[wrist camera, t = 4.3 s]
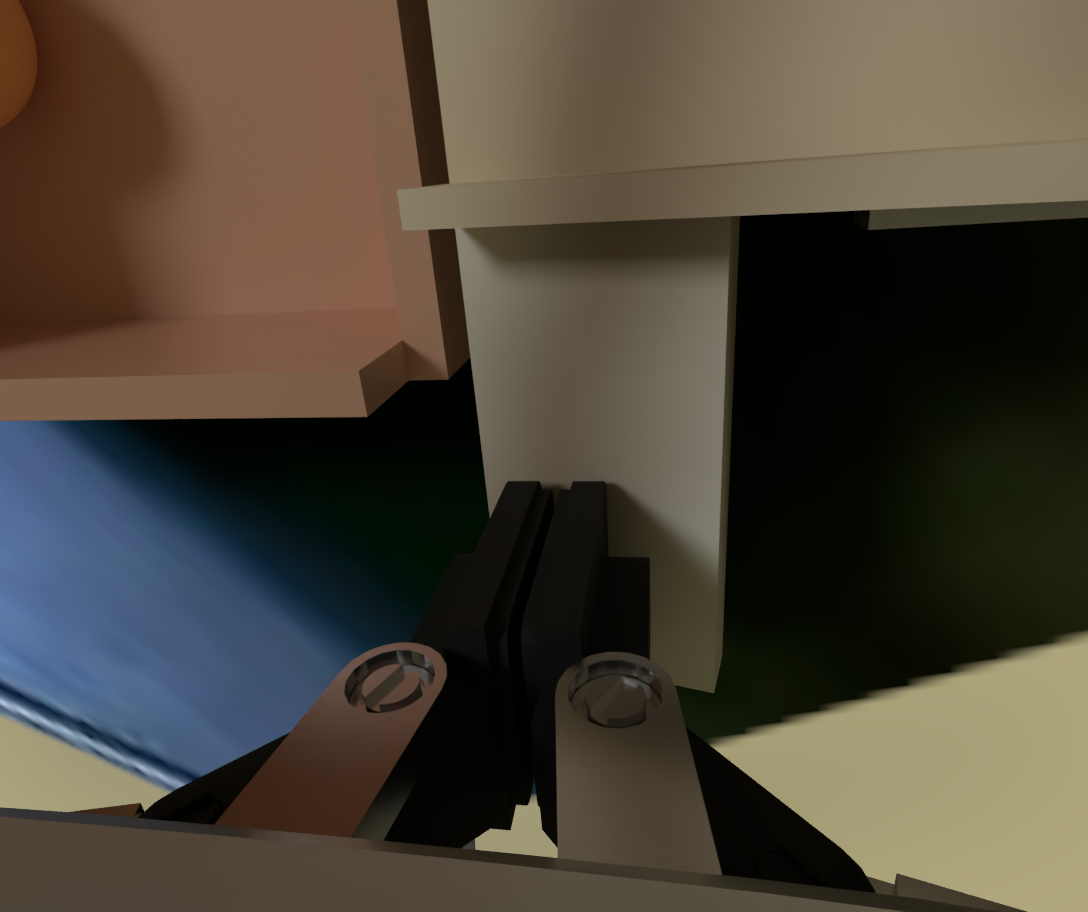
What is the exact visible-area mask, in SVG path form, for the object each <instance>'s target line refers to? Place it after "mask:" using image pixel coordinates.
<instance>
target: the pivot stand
mask: <svg viewBox="0 0 1088 912" xmlns="http://www.w3.org/2000/svg"><path fill="white" fill-rule="evenodd" d="M1087 217H1088V200H1084V201H1062V202H1039V203H1017V204H994V205H971V206H949V207H926V208H904V209H881V210H859V211H854V219H853V224H854V225H857V226H859V227H862V228H864V229H867V230H876V229H894V228H911V227H929V226H946V225H964V224H982V223H999V222H1017V221H1034V220H1052V219H1070V218H1087Z"/></svg>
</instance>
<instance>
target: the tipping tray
mask: <svg viewBox="0 0 1088 912" xmlns="http://www.w3.org/2000/svg"><path fill="white" fill-rule="evenodd" d="M427 1H428V10H429V18H430V26H431V34H432V43H433V51H434V59H435V67H436V76H437V84H438V92H439V100H440V109H441V117H442V125H443V134H444V142H445V150H446V158H447V167H448V175H449V183H450V184H442V185H433V186H425V187H416V188H407V189H399V190H397V196H398V203H399V209H400V216H401V223H402V229H403V231H407V230H430V229H452V228H455V233H456V241H457V249H458V258H459V266H460V274H461V282H462V291H463V299H464V307H465V315H466V324H467V332H468V340H469V348H470V357H471V365H472V373H473V382H474V390H475V398H476V406H477V415H478V423H479V431H480V439H481V448H482V456H483V464H484V472H485V481H486V489H487V497H488V506H489V514H490V517H491V515H492V513H493V510H494V508H495V506H496V504H497V502H498V500H499V497H500V495H501V493H502V491H503V489H504V487H505V484H506V483H507V481H540V483H541V486H542V489H552V492H553V498H554V509H555V505H556V502H557V498H558V495H559V492H560V489H569V490H570V489H571V485H572V482H573V481H605V483H606V500H607V525H608V551H609V556H612V557H650V660H651V661H652V662H654V663H656V664H658V665H659V666H660V667H661V668H662V669H663V670H664V671H665V672H667V673H668V674H669V675H670V677H671V679H672V681H673V683H674V685H678V686H682V687H687V688H692V689H697V690H702V691H706V692H711V693H714V690H715V685H716V681H717V676H718V672H719V667H720V663H721V658H722V644H723V620H724V595H725V570H726V546H727V521H728V496H729V472H730V447H731V422H732V398H733V373H734V348H735V324H736V299H737V275H738V250H739V225H740V216H746V215H768V214H791V213H814V212H836V211H859V210H881V209H904V208H926V207H949V206H971V205H994V204H1017V203H1039V202H1062V201H1084V200H1088V0H427Z"/></svg>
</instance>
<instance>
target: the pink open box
mask: <svg viewBox="0 0 1088 912" xmlns="http://www.w3.org/2000/svg"><path fill="white" fill-rule="evenodd" d="M19 2H20V4H21V6H22V8H23V10H24V12H25V14H26V16H27V18H28V21H29V24H30V26H31V29H32V32H33V36H34V40H35V44H36V51H37V75H36V81H35V85H34V88H33V91H32V94H31V96H30V98H29V100H28V102H27V103H26V105H25V107H24V108H23V109H22V110H21V112H20V113H19V114H18V115H17V116H16V117H15V118H14V119H12V120H11V121H10V122H9V123H8V124H6V125H4V126H3V127H1V128H0V421H27V420H122V419H217V418H312V417H368V416H369V415H370V414H371V413H372V412H374V411H375V410H376V409H377V408H378V407H379V406H380V405H382V404H383V403H384V402H385V401H386V400H387V399H388V398H389V397H391V396H392V395H393V394H394V393H395V392H396V391H397V390H399V389H400V388H401V387H402V386H403V385H404V384H405V383H407V382H408V381H409V380H448V379H449V378H450V377H451V376H452V375H453V374H454V373H455V372H456V371H457V370H458V369H459V368H460V367H461V366H462V365H463V364H464V363H465V362H466V361H467V360H468V359H469V358H470V348H469V340H468V332H467V324H466V315H465V307H464V299H463V291H462V282H461V274H460V266H459V258H458V249H457V241H456V233H455V228H452V229H430V230H407V231H403V229H402V223H401V216H400V209H399V203H398V196H397V190H399V189H407V188H416V187H425V186H433V185H442V184H450V183H449V175H448V167H447V158H446V150H445V142H444V134H443V125H442V117H441V109H440V100H439V92H438V84H437V76H436V67H435V59H434V51H433V43H432V34H431V26H430V18H429V10H428V1H427V0H19Z"/></svg>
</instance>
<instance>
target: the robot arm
mask: <svg viewBox="0 0 1088 912" xmlns="http://www.w3.org/2000/svg"><path fill="white" fill-rule="evenodd" d="M534 777H535V786H536V795H537V803H538V806H539V807H540V812H541V821H542V830H543V831H544V832H545V833H546V835H547V836H548V837H549V838H550V839H551V841H552V842H553V843H554V844H555V845H556V847H557V848H558V858H551V857H540V856H531V855H522V854H512V853H511V854H510V853H501V852H491V851H480V850H475V838H477V837H478V836H480V835H481V834H483V833H484V832H486V831H487V830H489V829H490V828H492V829H502V830H511V826H512V821H513V816H514V812H515V807H516V805H528V803H529V801H530V797H531V792H532V787H533V782H534ZM0 912H1026V911H1023V910H1019V909H1016V908H1013V907H1009V906H1005V905H1002V904H999V903H995V902H992V901H988V900H985V899H982V898H978V897H975V896H972V895H968V894H965V893H962V892H958V891H955V890H951V889H948V888H945V887H941V886H938V885H934V884H930V883H927V882H924V881H921V880H917V879H914V878H910V877H907V876H904V875H900V874H897V875H896V880H895V885H894V884H891V883H887V882H884V881H881V880H877V879H874V878H871V877H867V876H866V875H865V873H864V872H863V870H862V869H861V867H860V866H859V865H858V864H857V863H856V862H855V861H854V860H853V859H852V858H850V856H849V855H847V854H846V853H845V851H844V850H842V849H841V848H840V847H839V846H837V845H836V844H835V843H834V842H832V841H831V840H830V839H829V838H827V837H826V836H825V835H824V834H822V833H821V832H820V831H818V830H817V829H816V828H815V827H813V826H812V825H811V824H809V823H808V822H807V821H806V820H804V819H803V818H802V817H800V816H799V815H798V814H797V813H795V812H794V811H793V810H791V809H790V808H789V807H788V806H786V805H785V804H784V803H783V802H781V801H780V800H779V799H777V798H776V797H775V796H774V795H772V794H771V793H770V792H768V791H767V790H766V789H765V788H763V787H762V786H761V785H760V784H758V783H757V782H756V781H755V780H753V779H752V778H751V777H749V776H748V775H747V774H745V773H744V772H743V771H742V770H740V769H739V768H738V767H736V766H735V765H734V764H733V763H731V762H730V761H729V760H727V759H726V758H725V757H724V756H723V755H721V754H720V753H719V752H717V751H716V750H715V749H714V748H712V747H711V746H710V745H708V744H707V743H706V742H705V741H703V740H702V739H701V738H700V737H698V736H697V735H696V734H694V733H693V732H692V731H691V730H689V729H688V728H687V727H685V723H684V719H683V715H682V711H681V707H680V703H679V699H678V695H677V691H676V688H675V686H674V683H673V681H672V679H671V677H670V675H669V674H668V673H667V672H665V671H664V670H663V669H662V668H661V667H660V666H659V665H658V664H656V663H654V662H652V661H651V660H650V557H612V556H609V551H608V525H607V500H606V483H605V481H573V482H572V485H571V489H570V490H569V489H560V492H559V495H558V498H557V502H556V505H555V509H554V498H553V492H552V489H542V486H541V483H540V481H507V483H506V484H505V487H504V489H503V491H502V493H501V495H500V497H499V500H498V502H497V504H496V506H495V508H494V510H493V513H492V515H491V517H490V519H489V521H488V523H487V526H486V528H485V530H484V532H483V534H482V536H481V539H480V541H479V543H478V545H477V547H476V549H475V551H474V554H469V553H459V554H456V555H455V557H454V558H453V560H452V562H451V564H450V566H449V568H448V570H447V572H446V574H445V575H444V577H443V579H442V581H441V583H440V585H439V587H438V589H437V591H436V593H435V595H434V597H433V599H432V601H431V603H430V605H429V607H428V609H427V611H426V613H425V615H424V617H423V619H422V621H421V623H420V625H419V627H418V629H417V631H416V633H415V635H414V637H413V639H412V641H411V643H395V644H389V645H383V646H381V647H378V648H375V649H372V650H370V651H367V652H365V653H364V654H362V655H360V656H359V657H357V658H355V659H354V660H352V661H351V662H350V663H349V664H348V665H347V666H346V667H345V668H344V669H343V670H342V671H341V672H340V673H339V674H338V675H337V677H336V678H335V679H334V680H333V681H332V683H331V684H330V685H329V686H328V687H327V689H326V690H325V691H324V692H323V693H322V695H321V696H320V697H319V698H318V700H317V701H316V702H315V703H314V704H313V706H312V707H311V708H310V709H309V710H308V712H307V713H306V714H305V715H304V716H303V718H302V719H301V720H300V721H299V723H298V724H297V725H296V726H295V727H294V729H293V730H292V731H291V732H290V733H288V734H286V735H284V736H282V737H280V738H278V739H276V740H274V741H272V742H270V743H268V744H266V745H264V746H262V747H260V748H258V749H256V750H254V751H252V752H250V753H248V754H246V755H244V756H242V757H240V758H238V759H236V760H234V761H232V762H230V763H228V764H226V765H224V766H222V767H220V768H218V769H216V770H214V771H212V772H210V773H208V774H206V775H204V776H202V777H200V778H198V779H196V780H194V781H192V782H190V783H188V784H186V785H184V786H182V787H180V788H178V789H176V790H174V791H173V792H171V793H170V794H168V795H166V796H165V797H163V798H161V799H160V800H158V801H157V802H155V803H154V804H153V805H152V806H150V807H149V808H148V809H147V810H146V811H145V812H144V810H143V807H142V805H141V803H137V804H129V805H121V806H113V807H105V808H98V809H90V810H81V811H74V812H57V811H42V810H29V809H15V808H0Z"/></svg>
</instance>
